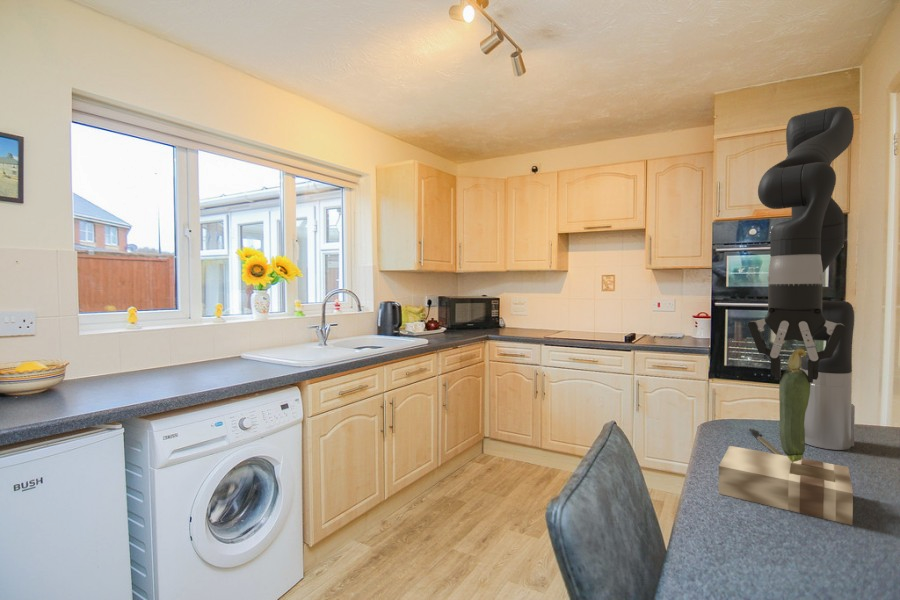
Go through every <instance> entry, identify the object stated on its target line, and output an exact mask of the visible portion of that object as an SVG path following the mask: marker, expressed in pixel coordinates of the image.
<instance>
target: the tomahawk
mask: <svg viewBox="0 0 900 600" xmlns="http://www.w3.org/2000/svg"><path fill="white" fill-rule="evenodd" d="M748 431H749V432H750V433H751V436H752V435H753V436H754V437H755V438H756V439H755V438H754V437H753V436H752V437H753V438H754V439H755V440H756V441H758V440H759V441H760V442H761V443H762V444H761V443H760V442H759V441H758V442H759V443H760V444H761V445H763V446H764V447H765V448H766V447H767V448H766V449H767V450H768V451H770V453H773V454H778V455H784V453H781V452H780V451H779V450H778V449H777V448H776V447H775V446H773V445H772V444H771V443H770V442H769V441H768V440H766V439H765V438H764V437H761V435H760V431H758V430H757V429H754V428H753V429H752V428H749V430H748Z"/></svg>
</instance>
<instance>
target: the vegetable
mask: <svg viewBox="0 0 900 600" xmlns="http://www.w3.org/2000/svg"><path fill="white" fill-rule="evenodd" d="M806 352H807V349H806V350H805V348H803V347H800V348H796V349H795V350H793V352H792V353H791V354H790V356H789V357H788V362H787V367H788V368H787V369H786V370H784V371H783V372H782V373H781V378H780V380H779V386H778V387H779V388H778V389H779V391H778V393H779V394H778V399H779V426H778V427H779V430H778V431H779V432H778V435H779V440H780V444H781V445H780V446H781V449H782V451H783V454H785V456H788V458H789V459H790V461H791V462H793V463H794V462H795V461H799V460H801V459H802V458H803V457H804V453H805V452H806V443H805V428H804V421H805V412H806V409H807V406H808V401H809V396H810V383H809V382H808V376H807V374H806V373H805V372H804V371H803V370H801V368H802V366H801V364H802V362H801V361H802V357H803V356H804V357H806V355H807V353H806Z"/></svg>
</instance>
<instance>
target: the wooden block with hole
mask: <svg viewBox="0 0 900 600" xmlns="http://www.w3.org/2000/svg"><path fill="white" fill-rule="evenodd" d="M849 468H850V467H849V466H845V465H839V464H833V463H827V462H823V461H820V460H814V459H808V458H803V457H802V459H801V460H799V461H795V462H794V463H793V462H791V461H790V459H789V458H788V456H787V455H784V454H783V455H778V454H774V453H772V452H768V451H761V450H755V449H750V448H744V447H740V446H739V447H738V446H733V445H729V446H728V447H727V450H726V451H725V454H724V455H723V457H722V459H721V461H720V463H719V465H718V495H723V496H728V497H731V498H736V499H740V500H744V501H749V502H753V503H757V504H762V505H765V506H770V507H774V508H778V509H782V510H786V511H790V512H794V513H799V514H801V515H807V516H810V517H813V518H814V517H815V518H818V519H823V520H828V521H833V522H837V523H841V524H845V525H849V526H853V517H854V516H853V513H854V512H853V511H854V510H853V509H854V506H853V505H854V491H853V487H852V480H851V476H850V469H849Z"/></svg>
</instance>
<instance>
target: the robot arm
mask: <svg viewBox="0 0 900 600" xmlns="http://www.w3.org/2000/svg"><path fill="white" fill-rule="evenodd" d="M854 125H855V124H854V116H853V113H852V111H851V110H850V109H849V107H846V106H834V107H829V108H824V109H819V110H815V111H810V112H805V113H802V114H801V113H800V114H797V115H794V116H792V117H790V119H789V120H788V122H787V125H786V131H785V138H786V139H785V140H786V141H785V142H786V152H787V155H786V157H785V159H784V160H781V161H780V162H778V163H775V164H774V165H773V166H772V167H770V168H769V169H767V171H765V173H763V175H762V176H761V178H760V181H759V184H758V186H757V187H758V188H757V196H758V199H759V201H760V203H761V204H762V205H763V206H765V207H766V208H769V209H773V210H779V209H780V210H781V209H791V219H789V220H786V221H781V222H778V223H776V224H774V225H773V226H772V227H771V228H770V247H769V248H770V251H769V253H770V254H769V256H770V257H769V258H770V259H769V264H768V275H767V282H768V283H767V284H768V285H767V286H768V287H767V288H768V289H767V291H768V292H767V294H768V297H767V300H768V301H767V302H768V303H767V305H768V306H767V308H768V309H767V313H766V315H765V317H764V318H762V319H757V320H751V321H749V322H748V324H747V326H748V329H749V331H750V333H751V336H752V340H753V341H754V344H755V347H756V349H757V351H758V353H759V354H761V355H762V354H763V355H765V356H767V357H769V358H770V375H771V377H774V380H779V381H780V378H781V375H782V370H781V369H782V368H781V367H782V358H781V357H780V355H781V354H780V353H781V350H782V347H783V344H784V342H785V341H792V340H795V341H799V342H804V346H805V349H806V352H807V354H806V357H804V356H803V355H802V356H801V358H802V361H801V362H802V364H801V366H802V368H800V369H801V370H803V371H804V372H805V373H806V374H807V376H808V382H809V383H810V396H809V401H808V406H807V409H806V412H805V421H804V428H805V445H809V446H812V447H816V448H821V449H826V450H835V451H843V450H844V451H845V450H849V449H851V447H855V419H856V418H855V417H856V416H855V415H856V412H855V411H856V409H855V405H854V404H853V403H852V392H853V391H852V389H853V388H852V383H853V381H852V380H853V379H852V377H853V365H852V364H853V363H852V362H853V361H852V360H853V359H852V358H853V357H852V356H853V340H854V339H853V338H854V329H855V311H854V307H853V305H852V303H850V302H848V301H843V300H842V301H841V300H840V301H839V300H823V280H824V275H823V273H824V272H825V271H826V270H827V268H829V266H830V265H831V264H832V263H833V262H834V261H835V259H836V258H837V257H838V255H839V254H840V252H841V251H842V249H843V247H844V245H845V214H844V212H843V210H842V207H840V205H839V204H838V203H837V202H836V201H835V199H834V198H833V197H832V196H833V193H834V190H835V187H836V184H837V174H836V172H835V170H834V169H833V167H832V166H831V165H832V163H833V161H835V160H836V159H837V158H838V157H840V155H842V153H844V152H845V151H846V150H847V149H848V148H849V146H850V145H851V143H852V141H853V137H854V130H855V129H854ZM765 325H766V326H768V327H769V328H770V330H771V331H772V333H774V335H775V338H774V341H773V343H772V347H768V346H767V344H766V342H765V339H764V337H763V334H762V332H763V331H764V330H765ZM815 341H824V342H825V341H826V342H827V343H826V345H825V347H824V348H823V350H819V351H818V350H817V347H816V343H815Z"/></svg>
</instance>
